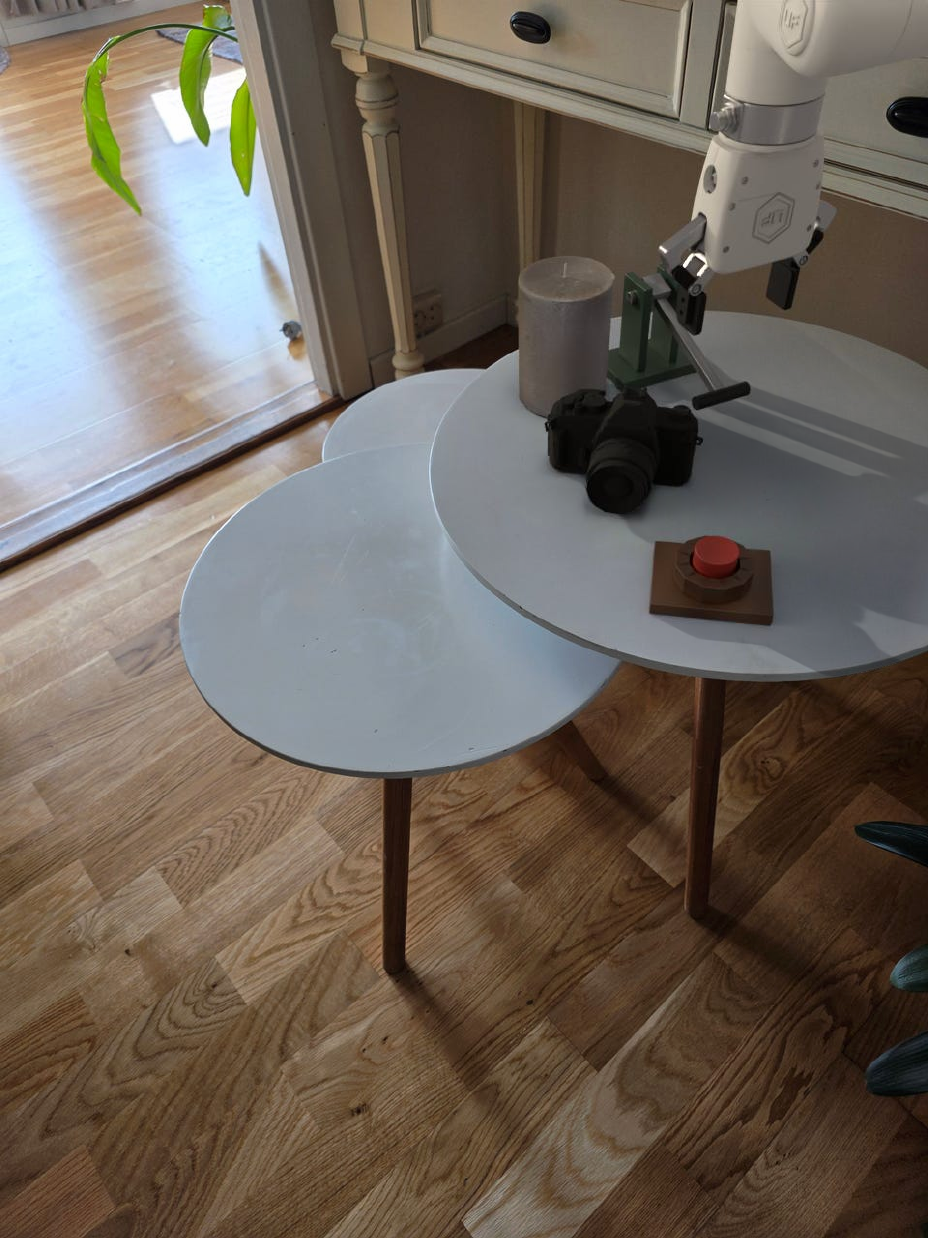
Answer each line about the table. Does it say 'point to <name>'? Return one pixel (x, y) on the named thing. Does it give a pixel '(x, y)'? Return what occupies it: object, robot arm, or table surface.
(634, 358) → the bracket
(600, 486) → the film camera
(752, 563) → the button block
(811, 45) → the robot arm
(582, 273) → the pillar candle
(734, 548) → the button
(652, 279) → the lever
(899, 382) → the table surface
